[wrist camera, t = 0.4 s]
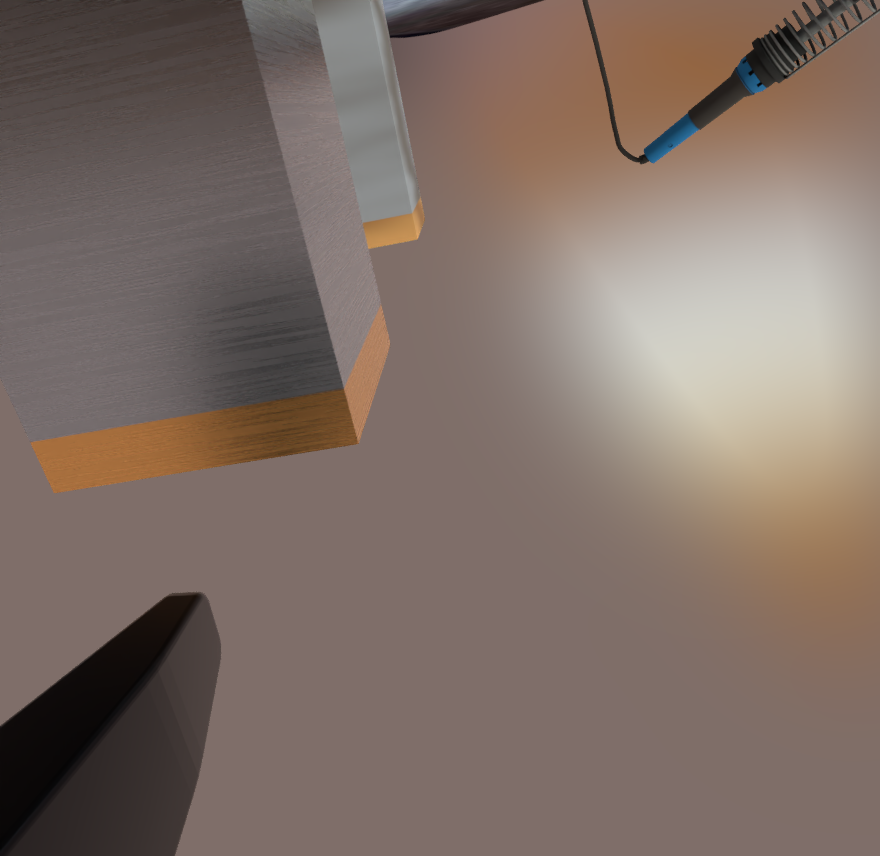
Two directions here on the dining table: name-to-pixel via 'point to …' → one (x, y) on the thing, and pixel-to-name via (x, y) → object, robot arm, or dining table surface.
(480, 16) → the dining table surface
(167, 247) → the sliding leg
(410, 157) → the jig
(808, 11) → the soldering iron
